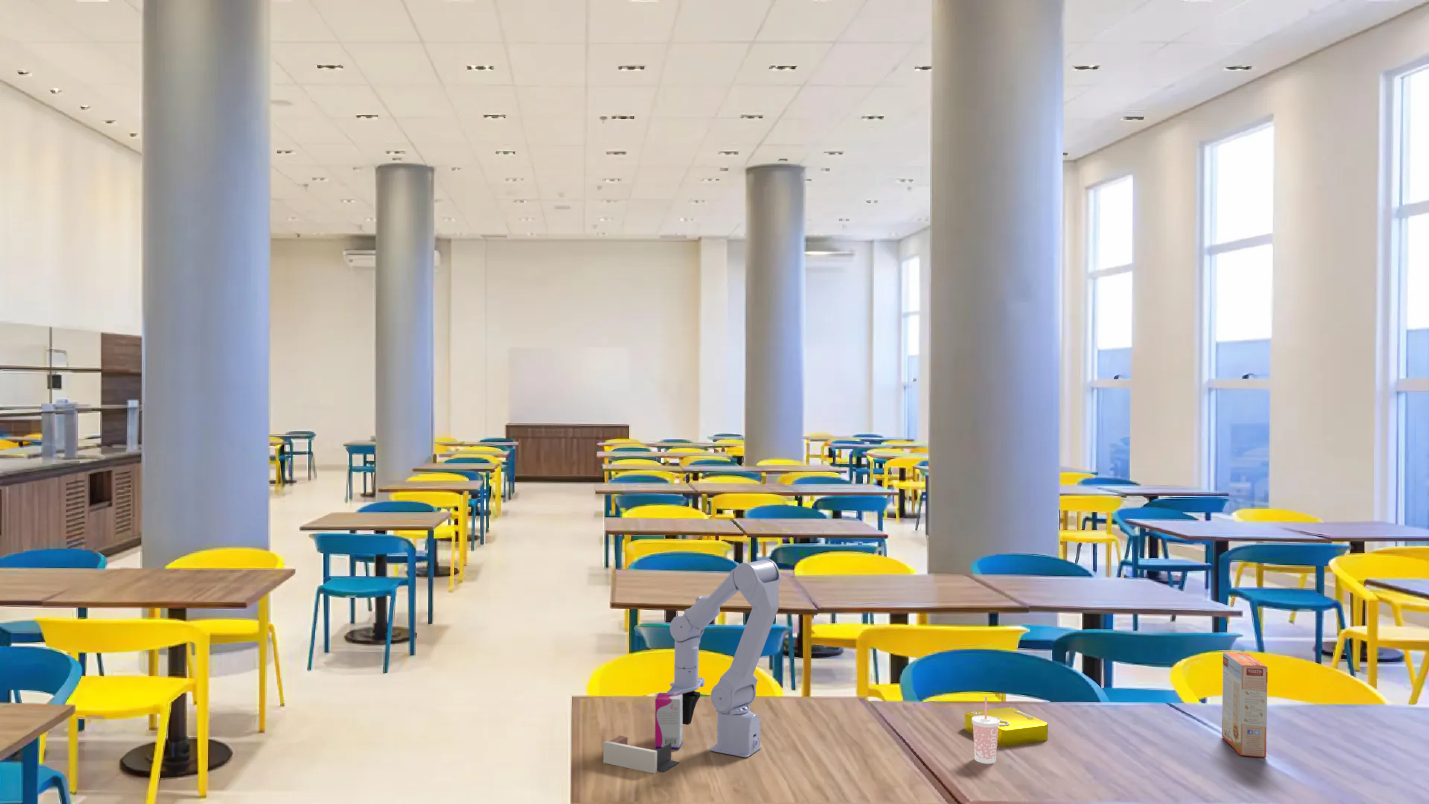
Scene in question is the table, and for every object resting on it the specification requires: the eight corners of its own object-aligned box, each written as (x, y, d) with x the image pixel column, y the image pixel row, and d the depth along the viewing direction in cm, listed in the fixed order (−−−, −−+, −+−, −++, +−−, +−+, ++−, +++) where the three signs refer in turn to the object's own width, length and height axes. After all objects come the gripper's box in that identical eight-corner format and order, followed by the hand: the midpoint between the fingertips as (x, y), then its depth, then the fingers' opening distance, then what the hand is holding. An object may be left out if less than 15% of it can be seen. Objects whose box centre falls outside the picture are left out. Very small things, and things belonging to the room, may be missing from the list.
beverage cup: (980, 765, 218) (980, 701, 218) (966, 756, 224) (966, 694, 224) (1005, 763, 220) (1005, 700, 220) (990, 754, 226) (990, 692, 226)
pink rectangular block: (627, 752, 223) (627, 737, 224) (611, 761, 218) (611, 745, 218) (619, 751, 224) (620, 735, 224) (603, 759, 219) (603, 744, 219)
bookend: (678, 763, 217) (679, 744, 217) (663, 772, 211) (663, 753, 212) (669, 761, 218) (669, 743, 218) (654, 770, 213) (654, 751, 213)
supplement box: (682, 741, 232) (683, 692, 232) (679, 750, 226) (680, 699, 226) (658, 740, 232) (658, 691, 232) (654, 749, 226) (654, 698, 226)
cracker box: (1268, 759, 225) (1269, 666, 225) (1239, 756, 226) (1240, 664, 226) (1248, 739, 239) (1248, 651, 239) (1221, 737, 240) (1221, 650, 240)
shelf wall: (656, 772, 212) (657, 750, 212) (654, 773, 211) (654, 752, 211) (606, 761, 218) (606, 740, 218) (603, 762, 217) (603, 742, 217)
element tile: (1051, 742, 236) (1051, 721, 236) (999, 749, 231) (999, 728, 231) (1010, 723, 250) (1010, 704, 250) (960, 729, 244) (961, 710, 245)
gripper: (686, 657, 244) (686, 712, 244) (656, 670, 231) (655, 729, 231) (712, 661, 241) (711, 717, 241) (682, 674, 228) (681, 734, 228)
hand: (685, 723), depth 236 cm, fingers closed
